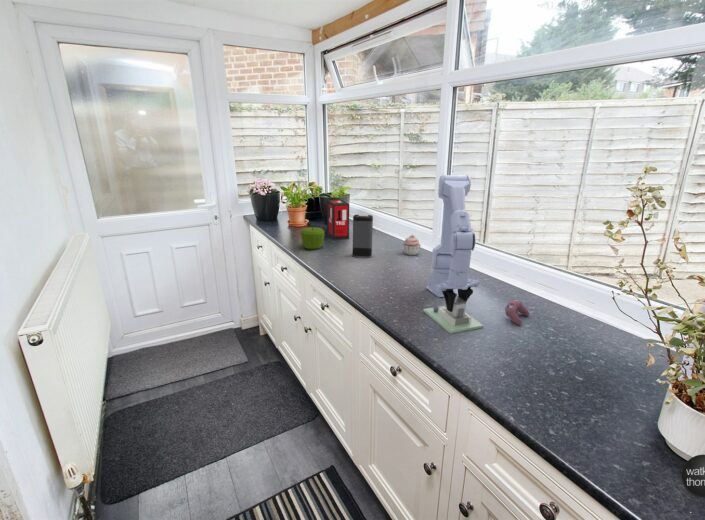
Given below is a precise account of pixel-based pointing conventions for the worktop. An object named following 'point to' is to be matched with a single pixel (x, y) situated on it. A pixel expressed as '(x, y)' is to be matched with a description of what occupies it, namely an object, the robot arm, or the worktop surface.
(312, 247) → the apple
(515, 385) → the worktop surface
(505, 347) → the worktop surface
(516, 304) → the video game controller
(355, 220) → the electronic device
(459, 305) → the plug
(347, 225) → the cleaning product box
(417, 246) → the cupcake
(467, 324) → the board
